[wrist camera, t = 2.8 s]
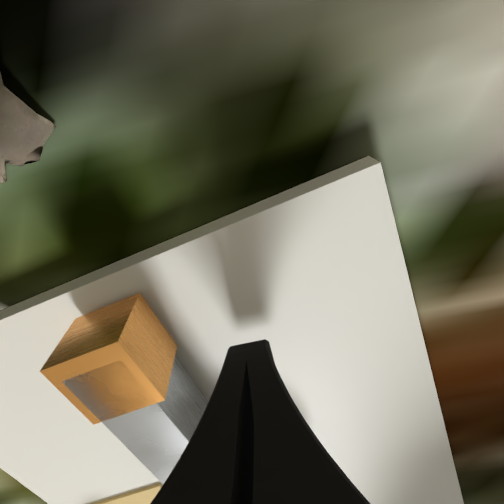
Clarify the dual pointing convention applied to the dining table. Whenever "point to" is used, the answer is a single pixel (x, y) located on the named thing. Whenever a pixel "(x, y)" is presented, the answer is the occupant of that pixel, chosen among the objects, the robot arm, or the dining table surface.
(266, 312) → the board
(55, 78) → the dining table surface
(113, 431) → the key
